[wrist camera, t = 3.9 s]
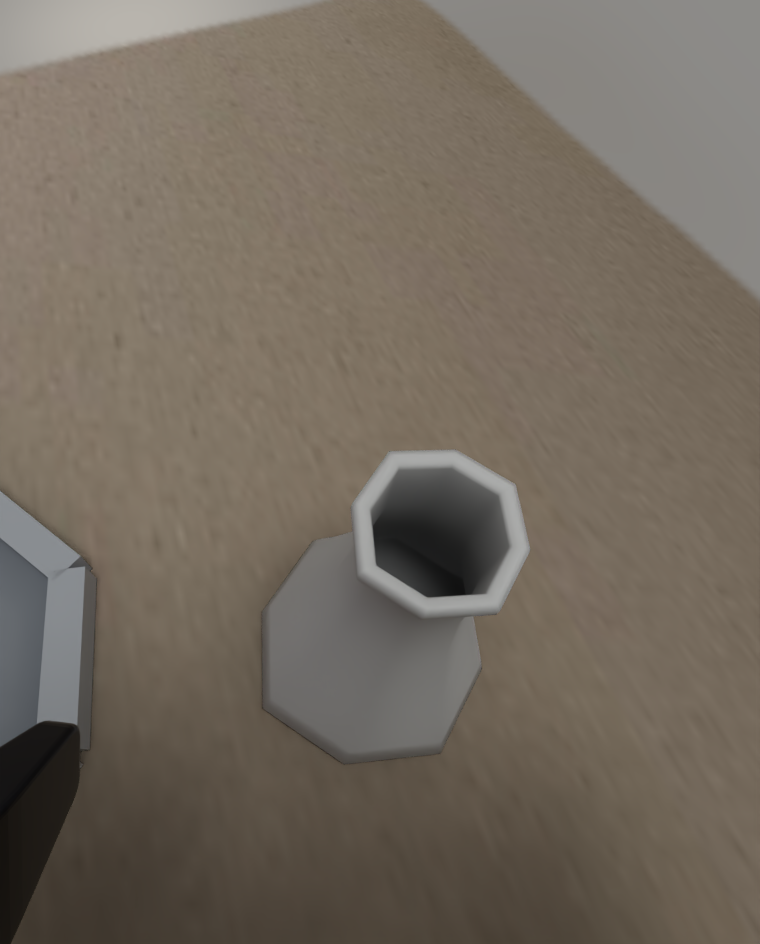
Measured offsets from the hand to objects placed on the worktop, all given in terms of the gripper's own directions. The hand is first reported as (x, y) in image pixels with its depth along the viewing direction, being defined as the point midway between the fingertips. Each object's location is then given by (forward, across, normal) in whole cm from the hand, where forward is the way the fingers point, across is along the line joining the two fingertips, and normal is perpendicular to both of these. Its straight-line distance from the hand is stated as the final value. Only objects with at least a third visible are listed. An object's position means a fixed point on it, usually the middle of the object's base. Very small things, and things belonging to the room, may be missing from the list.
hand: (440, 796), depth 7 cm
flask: (+11, 0, +5) cm, 12 cm away
